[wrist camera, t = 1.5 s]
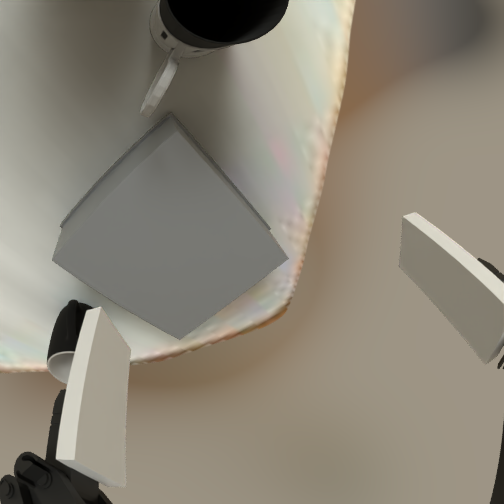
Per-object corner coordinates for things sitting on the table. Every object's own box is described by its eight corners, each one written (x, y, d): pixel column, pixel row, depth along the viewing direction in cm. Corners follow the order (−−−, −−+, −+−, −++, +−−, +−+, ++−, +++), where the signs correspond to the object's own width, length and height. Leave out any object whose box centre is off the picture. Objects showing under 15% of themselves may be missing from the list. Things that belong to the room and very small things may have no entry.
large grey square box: (61, 221, 32) (48, 260, 26) (170, 111, 29) (177, 125, 23) (171, 301, 45) (179, 341, 39) (267, 224, 42) (291, 258, 36)
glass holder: (248, 9, 24) (322, -17, 13) (180, 113, 29) (206, 153, 18) (179, -27, 19) (209, -86, 8) (108, 83, 25) (78, 101, 13)
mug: (109, 335, 44) (111, 388, 37) (59, 334, 41) (54, 386, 33) (105, 280, 38) (103, 337, 31) (46, 278, 35) (33, 334, 27)
